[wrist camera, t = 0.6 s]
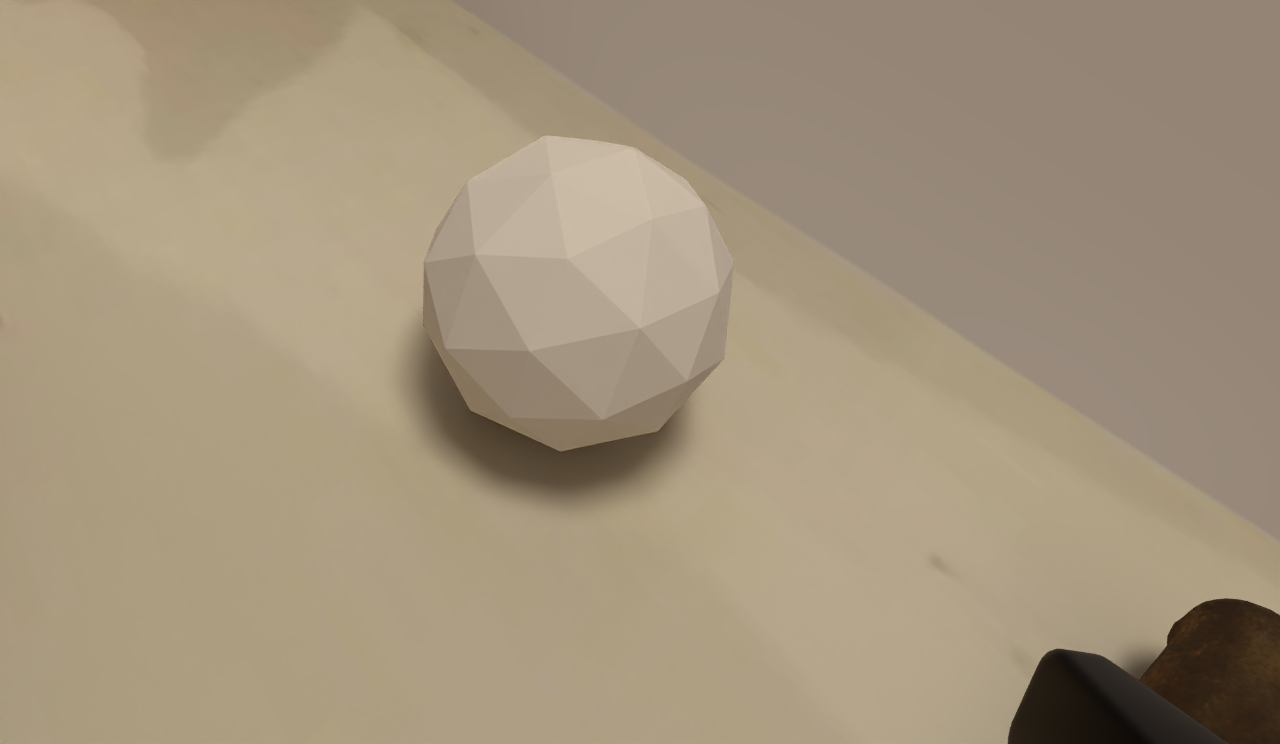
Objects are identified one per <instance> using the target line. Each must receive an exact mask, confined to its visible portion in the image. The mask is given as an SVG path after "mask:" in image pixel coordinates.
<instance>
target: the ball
mask: <svg viewBox="0 0 1280 744" xmlns="http://www.w3.org/2000/svg"><path fill="white" fill-rule="evenodd" d="M733 268H734V261H733V259H732V257H731V255H730V253H729V251H728V249H727V247H726V245H725V243H724V241H723V239H722V237H721V235H720V233H719V231H718V229H717V227H716V225H715V223H714V221H713V219H712V217H711V215H710V213H709V211H708V209H707V207H706V205H705V204H704V203H703V201H702V200H701V199H700V197H699V196H698V195H697V194H696V192H695V191H694V190H693V188H692V187H691V186H690V185H689V183H688V182H687V181H686V179H684V178H683V177H681V176H679V175H678V174H676V173H675V172H673V171H671V170H670V169H668V168H667V167H665V166H663V165H662V164H660V163H659V162H657V161H655V160H654V159H652V158H651V157H649V156H647V155H646V154H644V153H642V152H641V151H639V150H638V149H636V148H634V147H630V146H624V145H619V144H613V143H608V142H602V141H596V140H586V139H577V138H567V137H558V136H548V135H545V136H543V137H541V138H540V139H538V140H536V141H534V142H533V143H531V144H529V145H527V146H526V147H524V148H522V149H520V150H519V151H517V152H515V153H513V154H512V155H510V156H508V157H506V158H505V159H503V160H501V161H500V162H498V163H496V164H495V165H493V166H491V167H490V168H488V169H486V170H484V171H483V172H481V173H479V174H478V175H476V176H474V177H473V178H471V179H469V180H468V181H467V182H466V184H465V185H464V187H463V188H462V190H461V191H460V193H459V195H458V196H457V198H456V199H455V201H454V202H453V204H452V205H451V207H450V209H449V210H448V212H447V213H446V215H445V216H444V218H443V220H442V221H441V223H440V224H439V226H438V227H437V229H436V231H435V234H434V237H433V239H432V242H431V245H430V248H429V250H428V253H427V256H426V259H425V261H424V296H423V326H424V328H425V329H426V331H427V333H428V335H429V337H430V339H431V340H432V342H433V344H434V346H435V348H436V349H437V351H438V353H439V355H440V357H441V358H442V360H443V362H444V364H445V366H446V368H447V369H448V371H449V373H450V375H451V377H452V378H453V380H454V382H455V384H456V386H457V387H458V389H459V391H460V393H461V395H462V397H463V398H464V400H465V402H466V404H467V406H468V407H469V409H470V411H473V412H475V413H477V414H479V415H481V416H484V417H486V418H488V419H490V420H492V421H495V422H497V423H499V424H501V425H503V426H505V427H508V428H510V429H512V430H514V431H516V432H519V433H521V434H523V435H525V436H527V437H530V438H532V439H534V440H536V441H538V442H541V443H543V444H545V445H547V446H549V447H552V448H554V449H556V450H558V451H565V450H569V449H574V448H579V447H584V446H589V445H594V444H599V443H603V442H608V441H613V440H618V439H623V438H628V437H633V436H637V435H642V434H647V433H652V432H657V431H659V429H660V428H661V427H662V426H663V425H664V424H665V423H666V422H667V421H668V420H669V418H670V417H671V416H672V415H673V414H674V413H675V412H676V411H677V410H678V409H679V407H680V406H681V405H682V404H683V403H684V402H685V401H686V400H687V399H688V398H689V396H690V395H691V394H692V393H693V392H694V391H695V390H696V389H697V388H698V387H699V385H700V384H701V383H702V382H703V381H704V380H705V379H706V378H707V377H708V376H709V374H710V373H711V372H712V371H713V370H714V369H715V368H716V367H717V366H718V365H719V363H720V362H721V361H722V360H723V359H724V355H725V346H726V336H727V326H728V317H729V307H730V297H731V288H732V278H733Z"/></svg>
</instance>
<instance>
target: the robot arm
mask: <svg viewBox="0 0 1280 744" xmlns="http://www.w3.org/2000/svg"><path fill="white" fill-rule="evenodd" d="M1008 744H1228V743H1227V742H1225V741H1224V740H1222V739H1221V738H1220V737H1218V736H1217V735H1215V734H1214V733H1212V732H1211V731H1210V730H1208V729H1207V728H1205V727H1204V726H1202V725H1201V724H1200V723H1198V722H1197V721H1195V720H1194V719H1192V718H1191V717H1190V716H1188V715H1187V714H1185V713H1184V712H1182V711H1181V710H1180V709H1178V708H1177V707H1175V706H1174V705H1173V704H1171V703H1170V702H1168V701H1167V700H1165V699H1164V698H1163V697H1161V696H1160V695H1158V694H1157V693H1155V692H1154V691H1153V690H1151V689H1150V688H1148V687H1147V686H1145V685H1144V684H1143V683H1141V682H1140V681H1138V680H1137V679H1135V678H1134V677H1133V676H1131V675H1130V674H1128V673H1127V672H1125V671H1124V670H1123V669H1121V668H1120V667H1118V666H1117V665H1115V664H1114V663H1113V662H1111V661H1110V660H1108V659H1107V658H1105V657H1103V656H1100V655H1097V654H1092V653H1085V652H1078V651H1072V650H1065V649H1054V650H1052V651H1049V652H1048V653H1046V654H1045V655H1044V656H1043V657H1042V659H1041V661H1040V662H1039V664H1038V666H1037V668H1036V670H1035V673H1034V675H1033V677H1032V679H1031V681H1030V684H1029V686H1028V688H1027V690H1026V692H1025V695H1024V697H1023V699H1022V701H1021V703H1020V706H1019V708H1018V710H1017V712H1016V714H1015V717H1014V719H1013V721H1012V724H1011V727H1010V731H1009V736H1008Z"/></svg>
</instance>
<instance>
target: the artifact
mask: <svg viewBox="0 0 1280 744" xmlns="http://www.w3.org/2000/svg"><path fill="white" fill-rule="evenodd" d="M1139 681H1140V682H1141V683H1143V684H1144V685H1145V686H1147V687H1148V688H1150V689H1151V690H1153V691H1154V692H1155V693H1157V694H1158V695H1160V696H1161V697H1163V698H1164V699H1165V700H1167V701H1168V702H1170V703H1171V704H1173V705H1174V706H1175V707H1177V708H1178V709H1180V710H1181V711H1182V712H1184V713H1185V714H1187V715H1188V716H1190V717H1191V718H1192V719H1194V720H1195V721H1197V722H1198V723H1200V724H1201V725H1202V726H1204V727H1205V728H1207V729H1208V730H1210V731H1211V732H1212V733H1214V734H1215V735H1217V736H1218V737H1220V738H1221V739H1222V740H1224V741H1225V742H1227V743H1228V744H1280V615H1278V614H1277V613H1275V612H1273V611H1272V610H1270V609H1267V608H1265V607H1262V606H1259V605H1256V604H1254V603H1251V602H1248V601H1243V600H1238V599H1227V598H1226V599H1216V600H1211V601H1206V602H1203V603H1201V604H1200V605H1198V606H1196V607H1194V608H1193V609H1192V610H1191V611H1189V612H1188V613H1187V614H1186V615H1185V616H1184V617H1182V618H1181V619H1180V620H1178V621H1177V622H1175V623H1174V625H1173V626H1172V628H1171V630H1170V632H1169V634H1168V636H1167V646H1166V648H1165V649H1164V650H1163V652H1162V653H1161V654H1160V655H1159V657H1158V658H1157V659H1156V660H1155V661H1154V662H1153V663H1152V665H1151V666H1150V667H1149V668H1148V670H1147V671H1146V672H1145V673H1144V675H1143V676H1142V677H1141V679H1140V680H1139Z"/></svg>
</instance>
